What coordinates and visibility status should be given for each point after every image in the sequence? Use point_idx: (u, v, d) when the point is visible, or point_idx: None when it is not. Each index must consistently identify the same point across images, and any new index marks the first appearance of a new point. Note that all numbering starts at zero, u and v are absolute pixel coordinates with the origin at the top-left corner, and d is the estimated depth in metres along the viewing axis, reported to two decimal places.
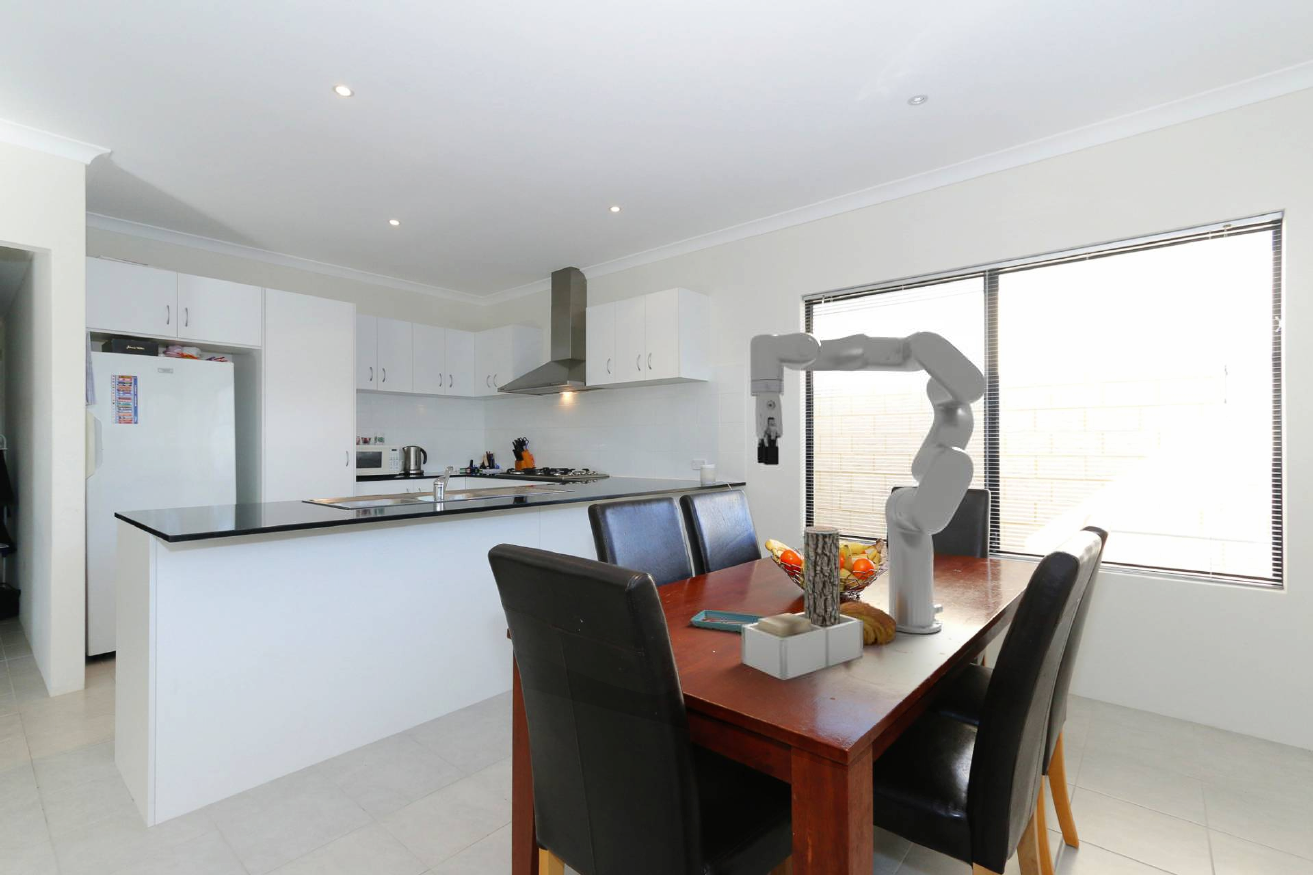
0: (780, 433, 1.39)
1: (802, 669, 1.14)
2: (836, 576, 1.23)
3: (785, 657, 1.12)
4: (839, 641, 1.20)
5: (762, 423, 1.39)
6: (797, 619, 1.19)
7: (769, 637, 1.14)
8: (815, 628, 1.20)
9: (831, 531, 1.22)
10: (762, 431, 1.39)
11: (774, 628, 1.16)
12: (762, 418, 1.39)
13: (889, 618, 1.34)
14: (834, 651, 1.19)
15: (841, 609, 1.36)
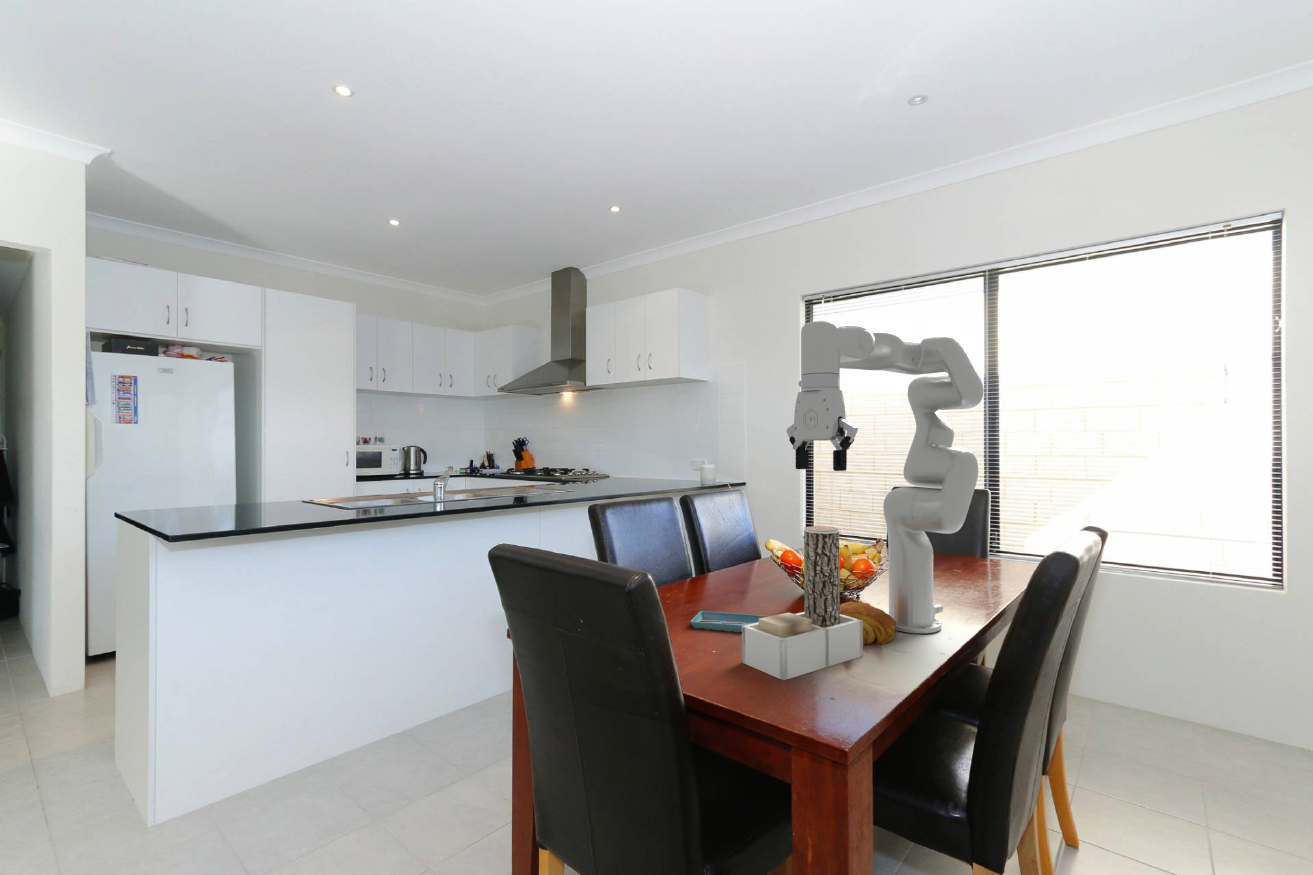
0: None
1: (802, 669, 1.14)
2: (836, 576, 1.23)
3: (785, 657, 1.12)
4: (839, 641, 1.20)
5: None
6: (797, 619, 1.19)
7: (769, 637, 1.14)
8: (815, 628, 1.20)
9: (831, 531, 1.22)
10: None
11: (775, 628, 1.16)
12: None
13: (889, 618, 1.34)
14: (834, 651, 1.19)
15: (841, 609, 1.36)
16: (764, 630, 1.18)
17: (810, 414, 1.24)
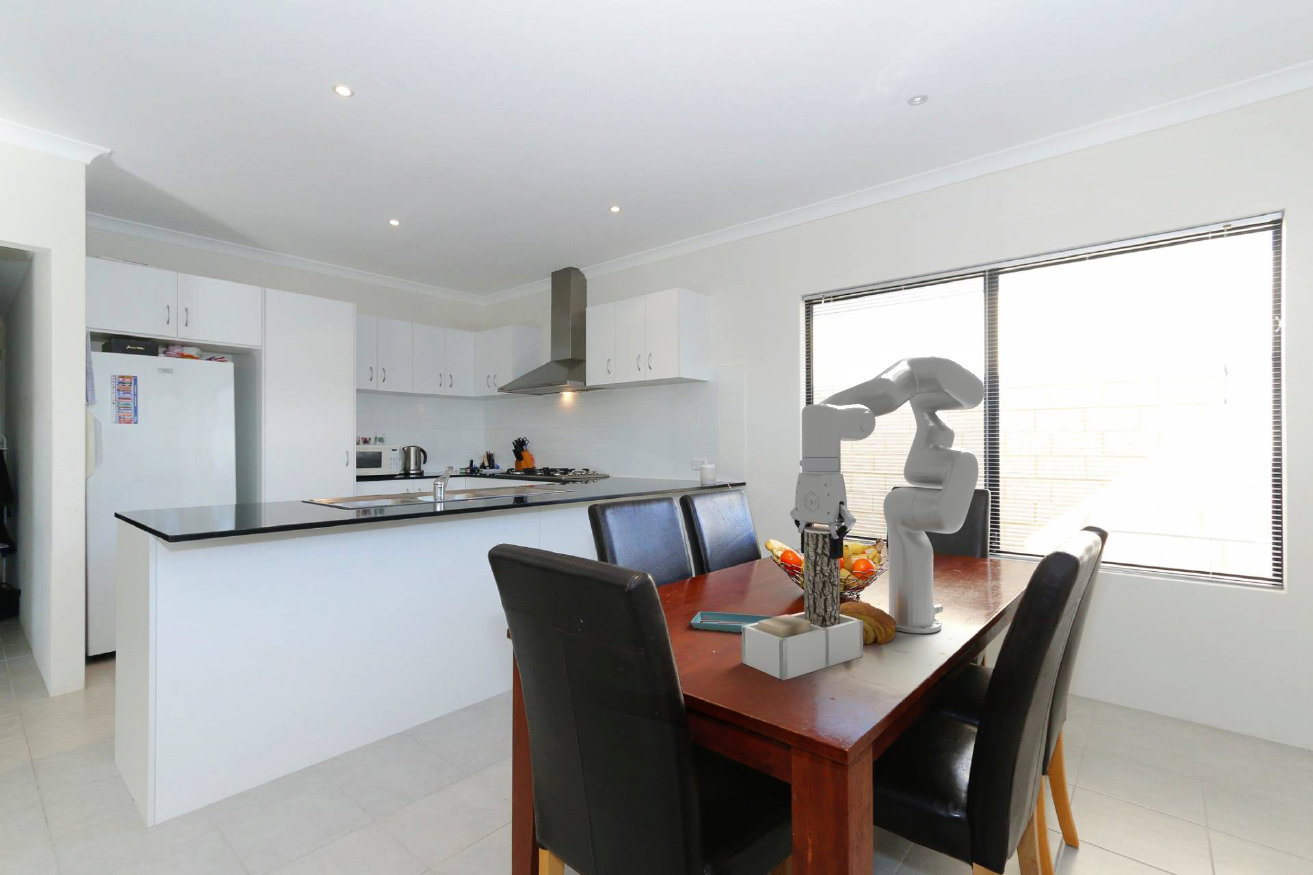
0: None
1: (802, 669, 1.14)
2: (836, 576, 1.23)
3: (785, 657, 1.12)
4: (839, 641, 1.20)
5: None
6: (796, 621, 1.19)
7: (769, 637, 1.14)
8: (815, 628, 1.20)
9: None
10: None
11: (775, 630, 1.16)
12: None
13: (889, 618, 1.34)
14: (834, 651, 1.19)
15: (841, 609, 1.36)
16: None
17: (811, 497, 1.24)
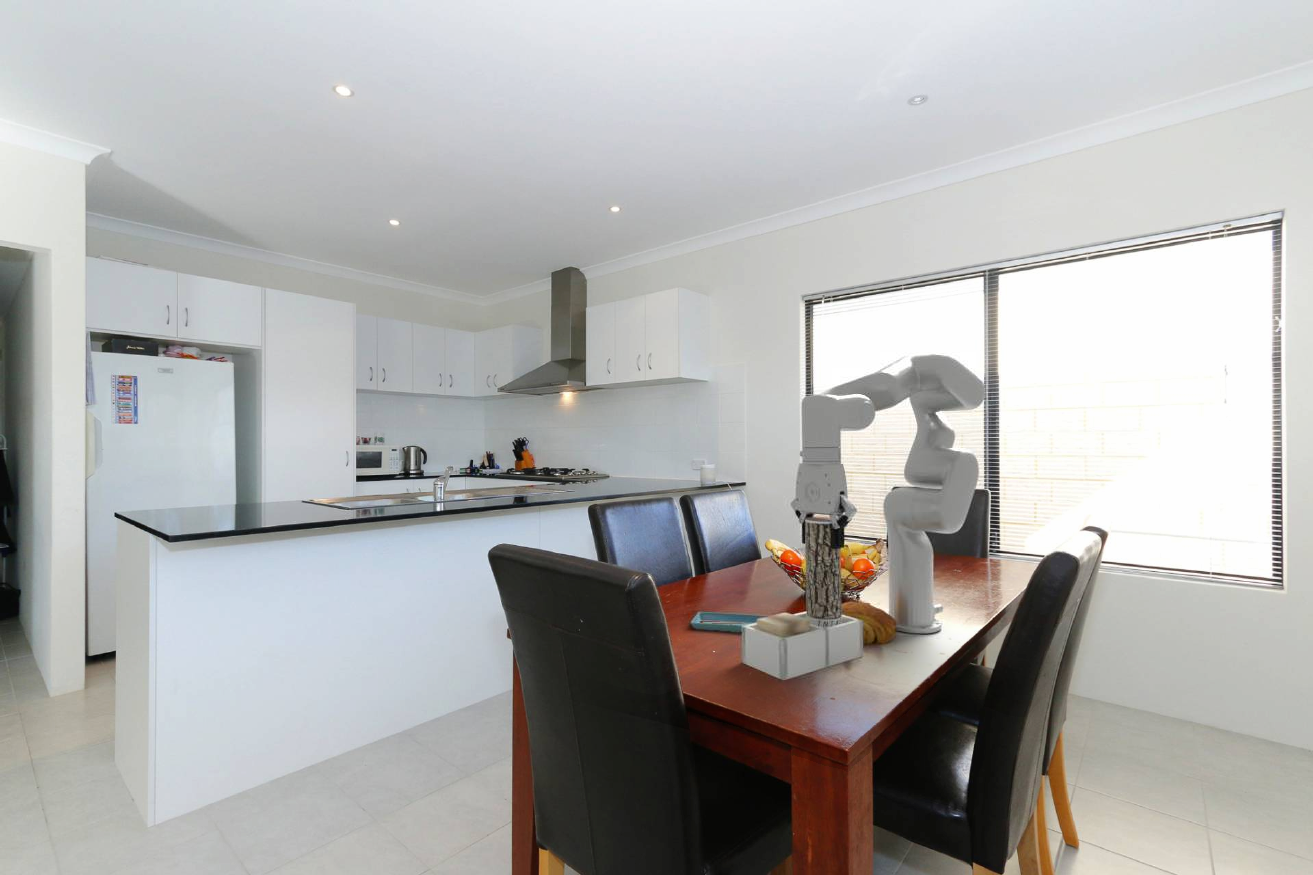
0: None
1: (802, 669, 1.14)
2: (837, 566, 1.23)
3: (785, 657, 1.12)
4: (839, 641, 1.20)
5: None
6: (795, 619, 1.19)
7: (769, 637, 1.14)
8: (815, 628, 1.20)
9: None
10: None
11: (774, 628, 1.16)
12: None
13: (889, 618, 1.34)
14: (834, 651, 1.19)
15: None
16: (763, 631, 1.18)
17: (811, 488, 1.24)
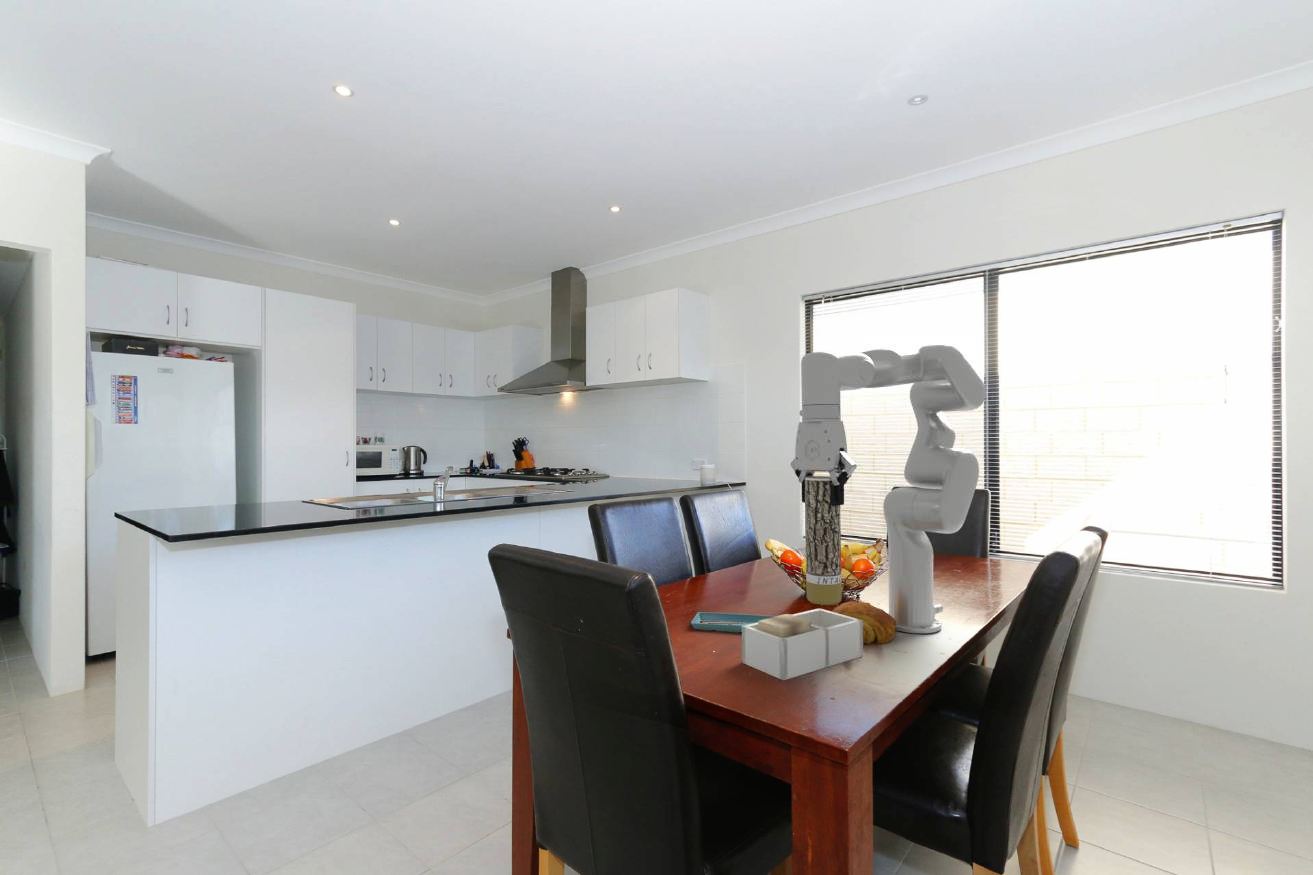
0: None
1: (802, 669, 1.14)
2: (837, 523, 1.23)
3: (785, 657, 1.12)
4: (839, 641, 1.20)
5: None
6: (797, 620, 1.19)
7: (769, 637, 1.14)
8: (815, 628, 1.20)
9: None
10: None
11: (776, 630, 1.16)
12: None
13: (889, 618, 1.34)
14: (834, 651, 1.19)
15: (841, 608, 1.36)
16: None
17: (811, 445, 1.24)
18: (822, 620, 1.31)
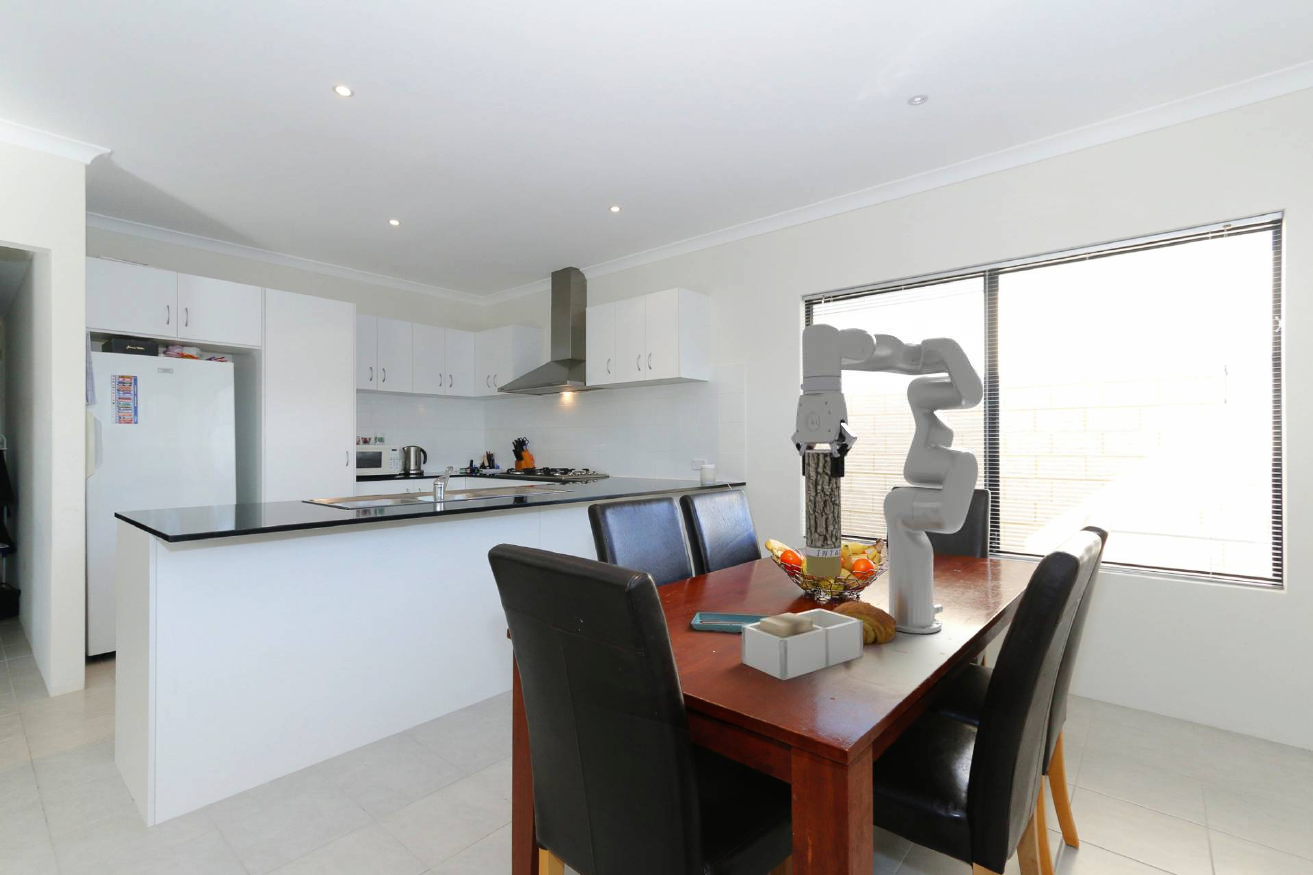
0: None
1: (802, 669, 1.14)
2: (837, 496, 1.23)
3: (785, 657, 1.12)
4: (839, 641, 1.20)
5: None
6: (799, 619, 1.19)
7: (769, 637, 1.14)
8: (815, 628, 1.20)
9: None
10: None
11: (777, 628, 1.16)
12: None
13: (889, 618, 1.34)
14: (834, 651, 1.19)
15: (841, 608, 1.36)
16: (766, 630, 1.18)
17: (812, 418, 1.24)
18: (822, 620, 1.31)
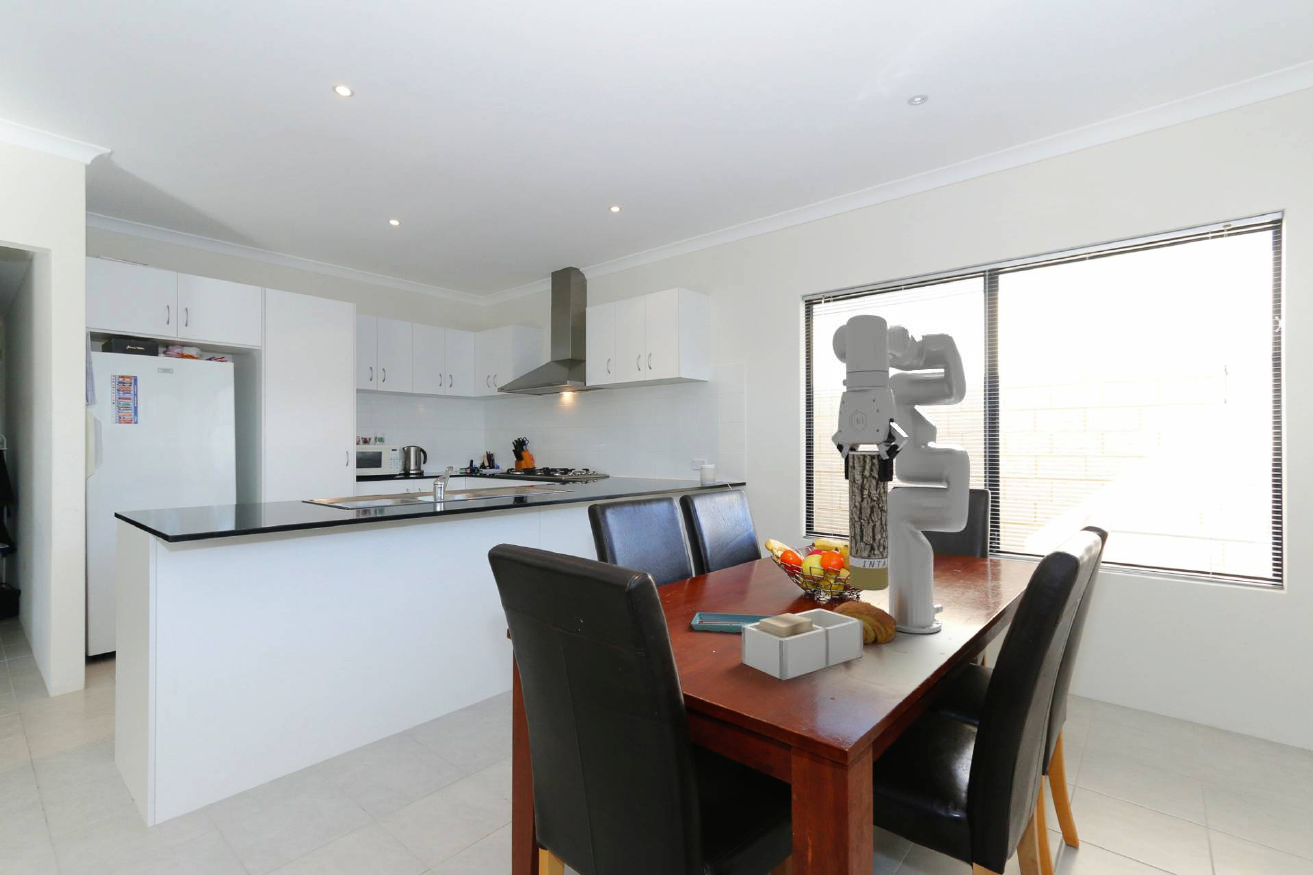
0: None
1: (802, 669, 1.14)
2: (885, 501, 1.12)
3: (785, 657, 1.12)
4: (839, 641, 1.20)
5: None
6: (798, 619, 1.19)
7: (769, 637, 1.14)
8: (815, 628, 1.20)
9: (879, 452, 1.12)
10: None
11: (777, 629, 1.15)
12: None
13: (889, 618, 1.34)
14: (834, 651, 1.19)
15: (841, 608, 1.36)
16: (765, 631, 1.18)
17: (857, 416, 1.14)
18: (822, 620, 1.31)
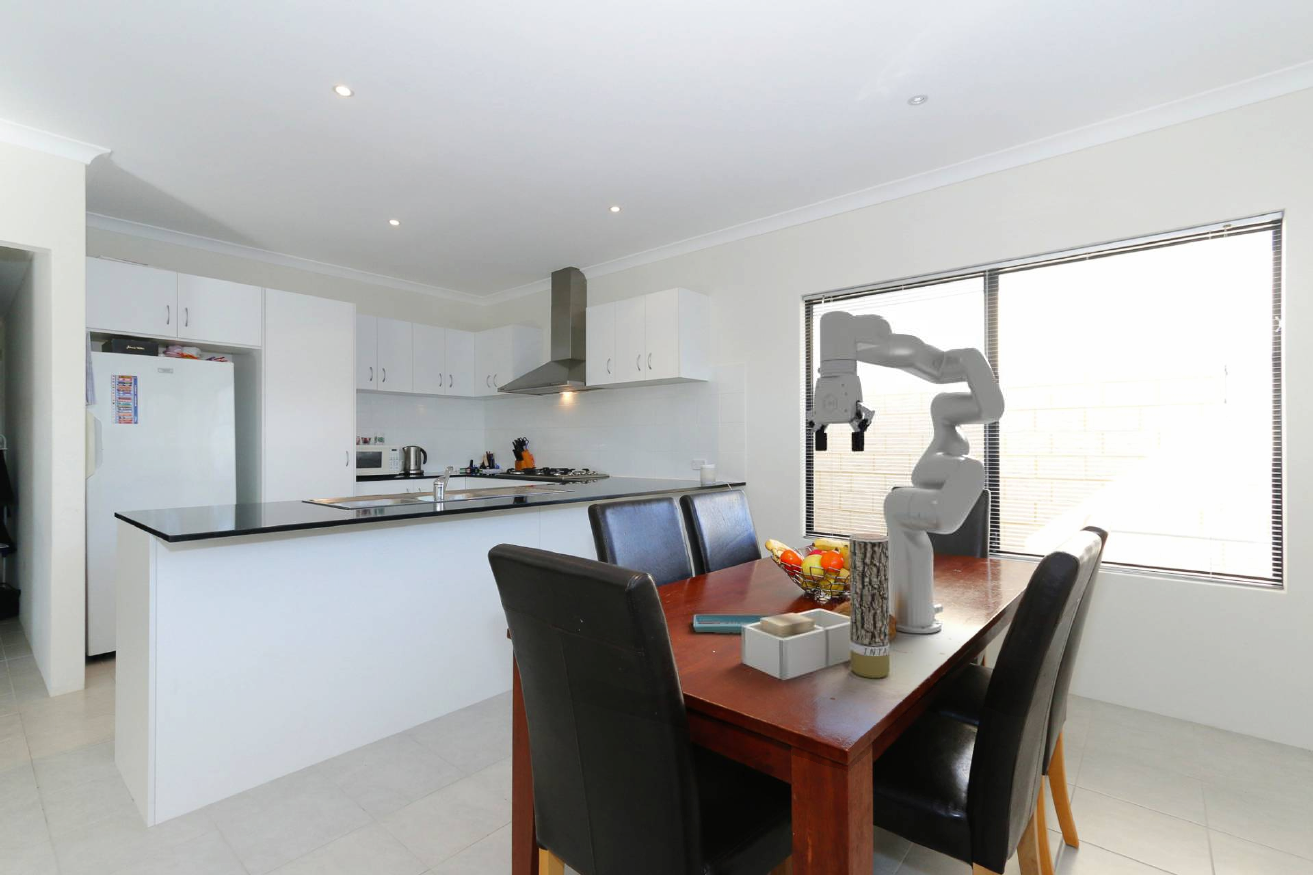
0: None
1: (802, 669, 1.14)
2: (886, 588, 1.13)
3: (785, 657, 1.12)
4: (839, 641, 1.20)
5: None
6: (799, 619, 1.19)
7: (769, 637, 1.14)
8: (815, 628, 1.20)
9: (880, 539, 1.12)
10: None
11: (775, 628, 1.16)
12: None
13: (890, 617, 1.34)
14: (834, 651, 1.19)
15: (842, 607, 1.37)
16: (765, 630, 1.19)
17: (829, 399, 1.32)
18: (822, 620, 1.31)
